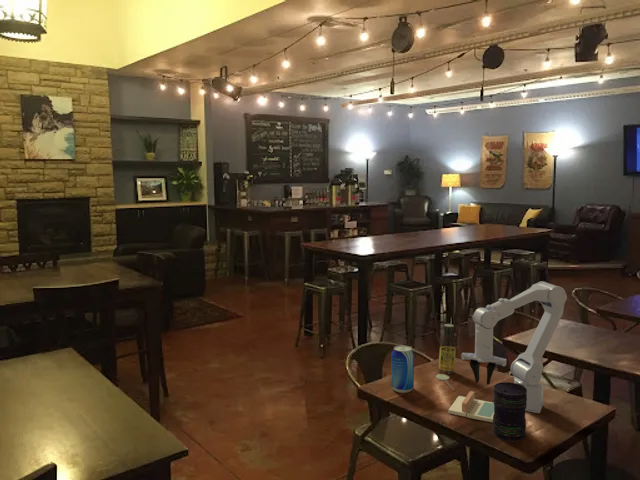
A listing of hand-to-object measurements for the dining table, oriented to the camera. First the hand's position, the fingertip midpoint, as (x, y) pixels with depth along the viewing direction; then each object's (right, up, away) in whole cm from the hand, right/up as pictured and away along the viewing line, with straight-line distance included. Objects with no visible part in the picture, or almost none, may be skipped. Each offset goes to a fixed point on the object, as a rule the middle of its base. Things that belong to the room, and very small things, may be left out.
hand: (482, 382), depth 189 cm
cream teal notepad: (+1, -10, +1) cm, 10 cm away
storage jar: (+4, -13, -14) cm, 19 cm away
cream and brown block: (-6, -10, +5) cm, 12 cm away
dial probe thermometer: (-6, -8, +27) cm, 29 cm away
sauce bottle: (-4, -6, +37) cm, 38 cm away
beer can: (-24, -8, +22) cm, 33 cm away
